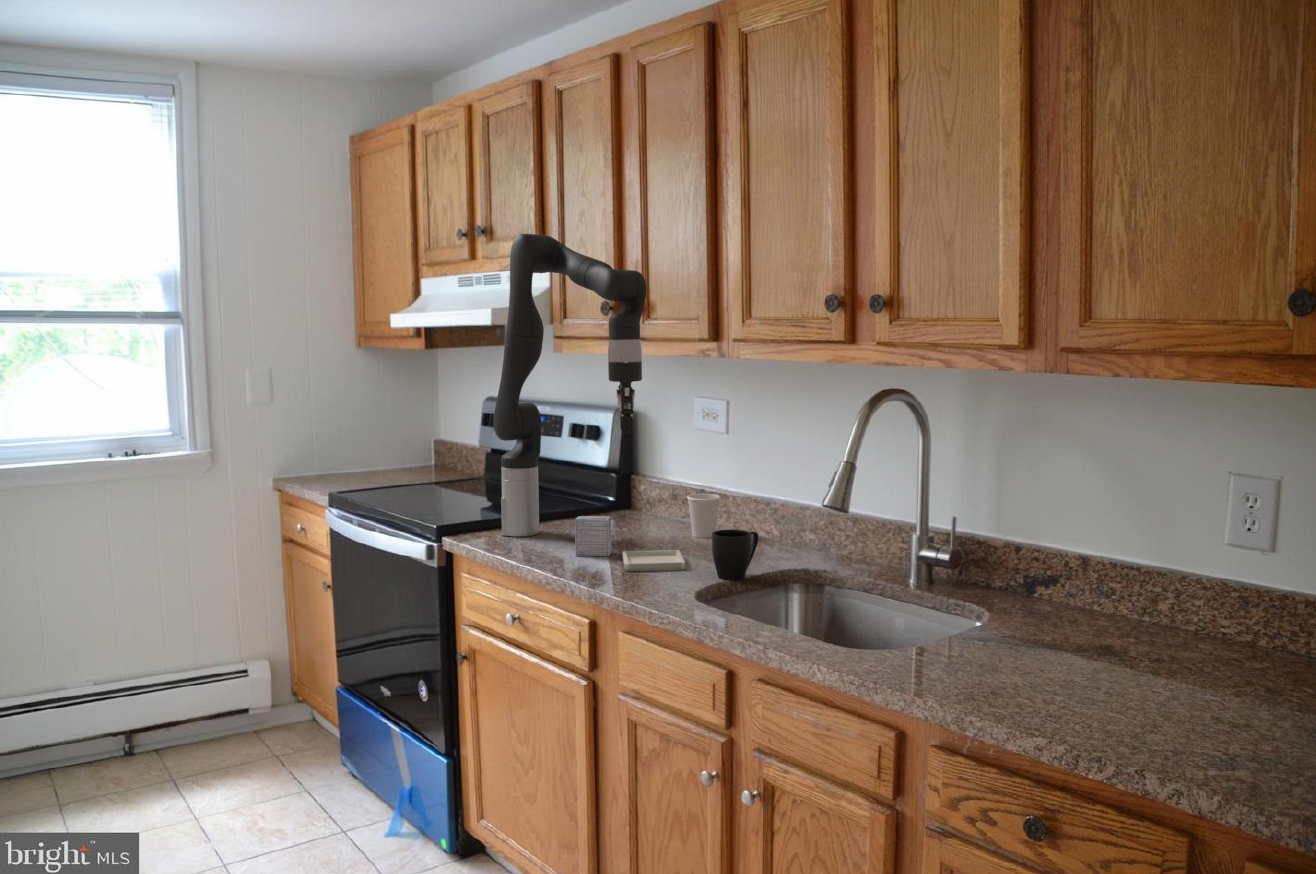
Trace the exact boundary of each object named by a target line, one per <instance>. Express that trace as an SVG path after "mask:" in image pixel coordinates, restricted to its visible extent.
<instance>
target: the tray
mask: <svg viewBox="0 0 1316 874" xmlns="http://www.w3.org/2000/svg"><path fill="white" fill-rule="evenodd" d="M621 557H622V562H623V567H624V568H623V569H624V572H652V571H653V572H655V571H656V572H657V571H658V572H660V571H661V572H662V571H663V572H664V571H686V562H685V560H684V558H683V555H682V552H681V551H680V549H667V550H661V549H660V550H622V556H621Z"/></svg>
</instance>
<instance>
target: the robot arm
mask: <svg viewBox="0 0 1316 874" xmlns="http://www.w3.org/2000/svg"><path fill="white" fill-rule="evenodd" d="M546 273H555V274H561V275H565V276H567V277H568V278H569V280H570V281H572V282H573V283H574V284H576V285H577V286H579V287H581V288H584V289H587V290H589V291H592V292H594V293H596V295H598V296H599V297H600V298H601V299H604V300H607V301H609V302H613V303H614V302H615V303H616V302H617V303H620V302H622V304H621V307H620V310H619V311H618V312H615V313H612V314H610V316H609V318H608V349H607V354H608V355H607V359H608V362H607V366H608V367H607V368H608V369H607V371H608V373H607V374H608V380H609V382H613V383H618V382H619V384H618V386H617V387H618V388H617V389H616V398H617V407H618V412H619V421H620V422H619V423H620V430H621V432H622V434H624V435H631V434H632V433H633V415H634V410H633V409H634V408H635V397H636V395H635V394H636V392H635V391H636V390H635V389H634V388H633V387H632V382H641V381H642V380H643V361H642V359H643V358H642V357H643V356H642V353H643V352H642V343H641V318H642V315H643V311H644V306H645V303H646V302H645V301H646V298H647V291H648V290H647V288H648V287H647V282H646V279H645V276H644V275H643V274H642V273H641V272H640V271H638V270H630V269H614V268H613V267H612V266H611V265H610V264H609V263H607V262H604V261H601V260H599V259H596V258H594V257H590V256H587V255H584V254H581V253H579V252H577V251H575V250H573V249H571V248H570V247H568V246H566V245H565V244H564V243H562V242H560V241H559V240H557V239H556V238H554V237H552V236H549V235H546V234H535V233H534V234H533V233H520V234H518V235H517V236H515V238H514V239H513V241H512V244H511V248H510V256H509V298H508V310H507V320H506V326H505V327H506V329H505V336H504V345H503V347H504V348H503V360H502V369H501V376H500V382H499V388H498V392H497V397H496V400H495V401H496V402H495V407H494V412H493V429H494V433H495V435H496V436H497V439H499V440H501V441H516V442H515V445H514V446H513V447H512V448H511V450H509V451H508V452H505V453H504V454H503V455H501V460H500V461H501V463H500V466H501V467H500V468H501V498H500V504H501V505H500V506H501V536H509V537H529V536H530V537H531V536H535V535H538V534H539V533H540V513H539V512H540V508H539V507H540V506H539V505H540V501H539V495H540V494H539V458H540V456H541V447H542V443H541V441H542V417H541V413H540V410H539V408H538V407H537V405H536V404H534V403H532V402H520V396H521V392H522V388H523V386H524V384H525V382H526V380H527V379H528V377H529V376H530V375H531V373H532V372H533V370H534V369H535V367H536V365H537V363H538V362H539V359H540V357H541V355H542V351H543V343H544V335H545V334H544V333H545V331H544V329H545V327H544V323H543V320H542V318H541V315H540V313H539V310H538V308H537V306H536V303H535V300H534V297H533V276H534V274H546Z"/></svg>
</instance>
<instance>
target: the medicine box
mask: <svg viewBox="0 0 1316 874" xmlns="http://www.w3.org/2000/svg"><path fill="white" fill-rule="evenodd" d="M574 542H575V545H574V546H575V548H574V549H575V550H574V551H575V552H574V553H575V556H576V557H580V556H581V557H610V555H611V553H612V516H606V515H605V516H602V515H600V516H599V515H597V516H596V515H588V516H587V515H586V516H585V515H580V516H579V515H578V516H577V517H576V518H575V520H574Z"/></svg>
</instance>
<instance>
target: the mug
mask: <svg viewBox="0 0 1316 874" xmlns="http://www.w3.org/2000/svg"><path fill="white" fill-rule="evenodd" d="M758 543H759V534H758V532H757V531H754V530H753V531H746V530H743V529H720V530H716V531H715V532H713V533H712V537H711V551H712V558H713V562H714V567H715V569H716V574H717V578H718V579H719V580H721V579H723V580H722V581H726V580H732V581H731V582H736V581H741V580H744V579H745V578H746V574H747V570H748V569H749V566H750V565H751V562H752V559H753V556H754V555H755V552H756V549H757V548H758V547H757V546H758ZM744 577H745V578H744Z"/></svg>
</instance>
